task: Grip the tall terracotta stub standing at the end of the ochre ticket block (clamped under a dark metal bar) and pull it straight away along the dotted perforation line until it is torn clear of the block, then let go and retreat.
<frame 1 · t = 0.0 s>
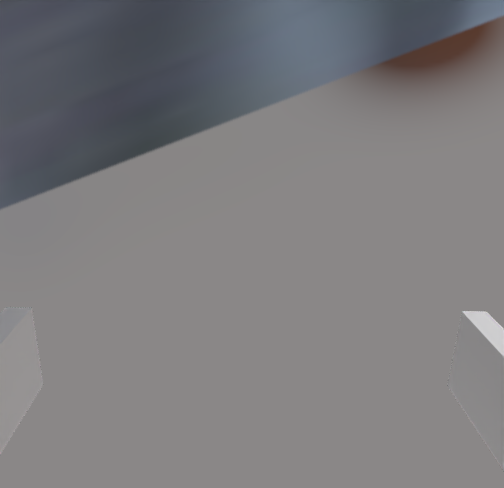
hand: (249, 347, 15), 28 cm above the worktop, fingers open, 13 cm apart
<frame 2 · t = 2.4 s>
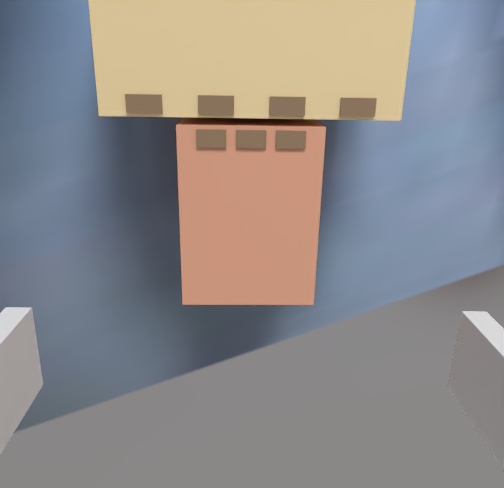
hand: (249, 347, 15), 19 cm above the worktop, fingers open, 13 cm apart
ticket block: (246, 10, 29), on the worktop
stub: (246, 187, 26), point 6 cm above the worktop, slide at 0.0 cm
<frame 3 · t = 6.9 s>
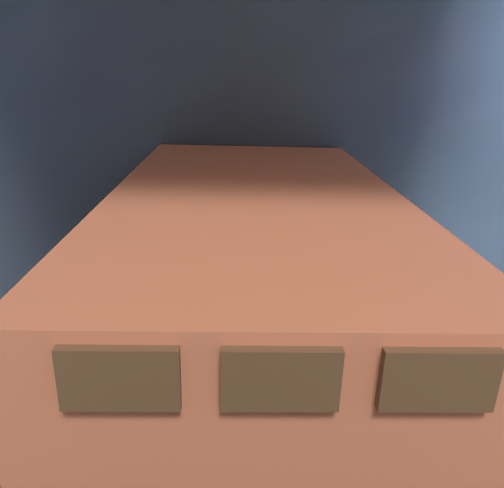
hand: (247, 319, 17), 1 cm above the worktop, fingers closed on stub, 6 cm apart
stub: (253, 351, 12), point 6 cm above the worktop, slide at 7.5 cm, touching gripper
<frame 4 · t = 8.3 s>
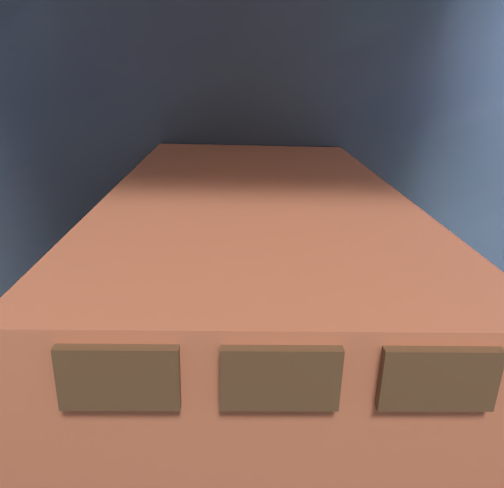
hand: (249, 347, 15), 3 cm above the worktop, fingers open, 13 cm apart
stub: (253, 350, 12), point 6 cm above the worktop, slide at 7.5 cm
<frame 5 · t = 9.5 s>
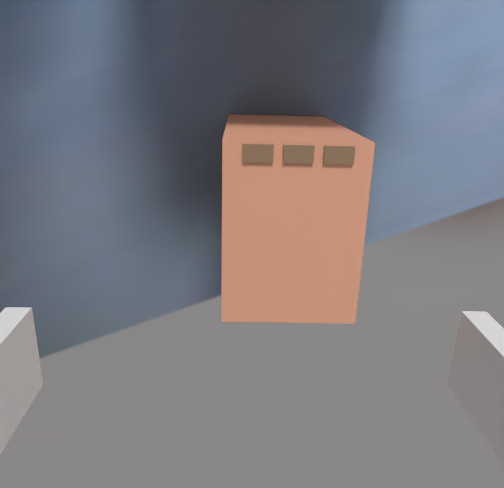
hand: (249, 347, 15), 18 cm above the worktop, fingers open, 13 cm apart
stub: (281, 202, 26), point 6 cm above the worktop, slide at 7.5 cm
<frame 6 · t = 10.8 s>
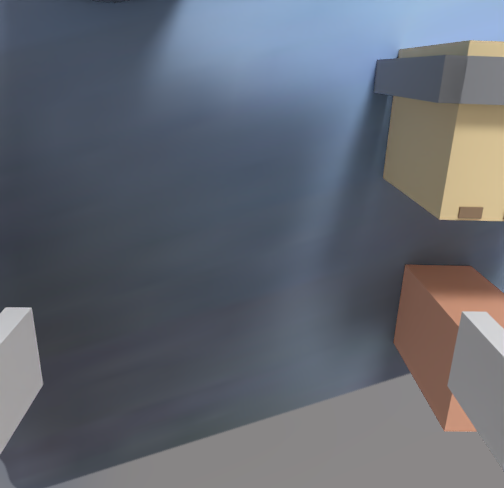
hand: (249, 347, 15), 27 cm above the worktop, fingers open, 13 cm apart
ticket block: (463, 118, 39), on the worktop
stub: (459, 339, 39), point 6 cm above the worktop, slide at 7.5 cm
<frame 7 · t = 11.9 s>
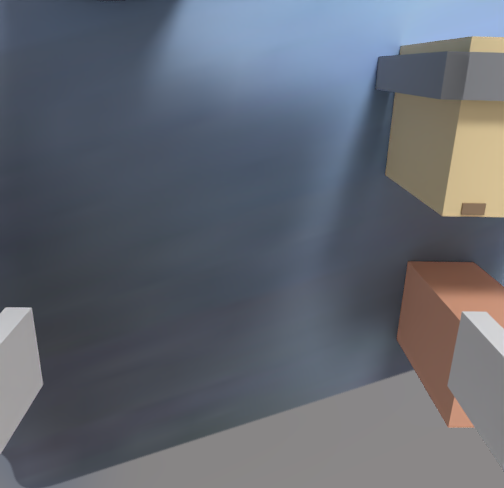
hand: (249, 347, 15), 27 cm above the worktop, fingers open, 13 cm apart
ticket block: (466, 115, 39), on the worktop
stub: (462, 335, 39), point 6 cm above the worktop, slide at 7.5 cm
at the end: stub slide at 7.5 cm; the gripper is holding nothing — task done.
